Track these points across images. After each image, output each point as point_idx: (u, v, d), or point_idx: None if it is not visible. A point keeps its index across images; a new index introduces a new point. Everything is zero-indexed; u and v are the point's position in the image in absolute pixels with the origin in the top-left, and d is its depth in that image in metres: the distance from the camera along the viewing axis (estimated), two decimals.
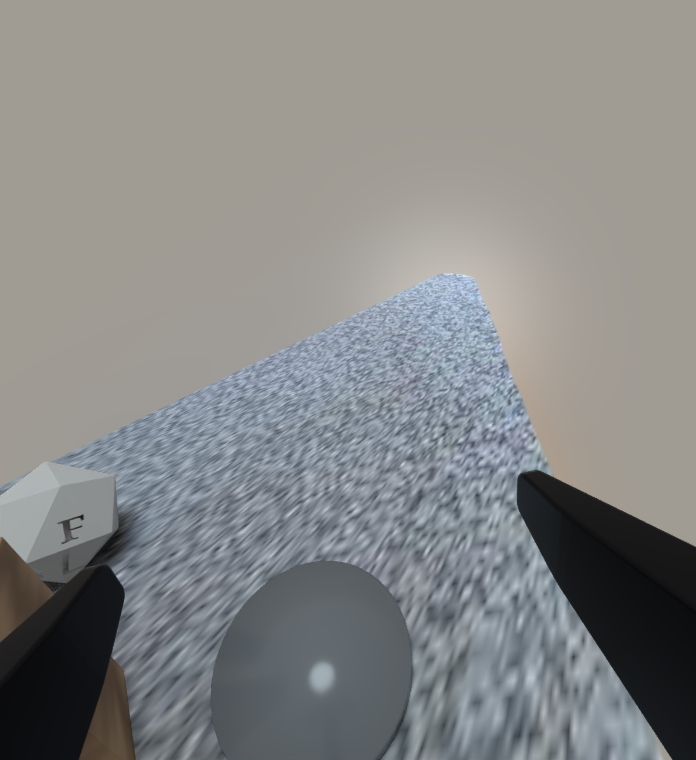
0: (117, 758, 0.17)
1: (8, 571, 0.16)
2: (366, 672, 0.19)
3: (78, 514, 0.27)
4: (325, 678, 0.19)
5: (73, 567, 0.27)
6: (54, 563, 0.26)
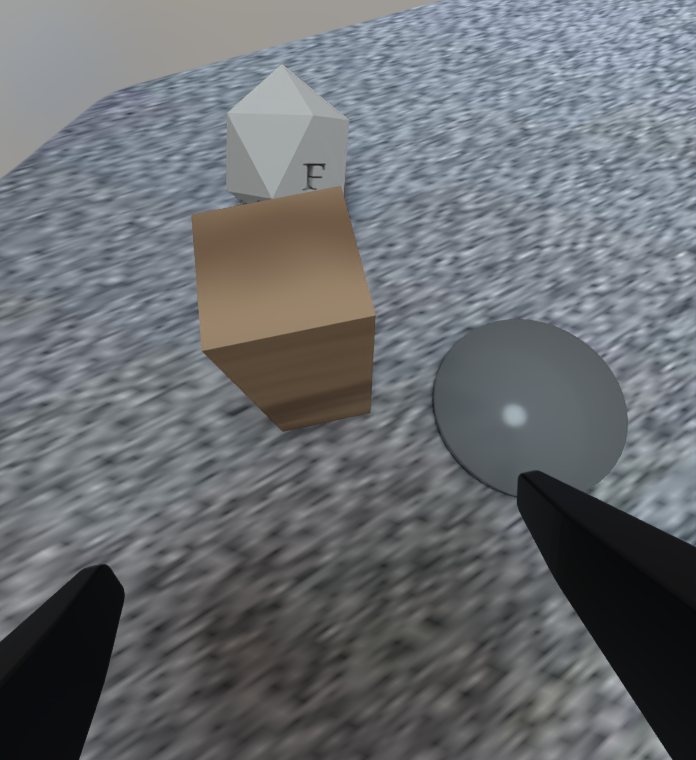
0: (369, 404, 0.21)
1: None
2: (577, 441, 0.21)
3: (321, 161, 0.23)
4: (538, 427, 0.21)
5: None
6: None
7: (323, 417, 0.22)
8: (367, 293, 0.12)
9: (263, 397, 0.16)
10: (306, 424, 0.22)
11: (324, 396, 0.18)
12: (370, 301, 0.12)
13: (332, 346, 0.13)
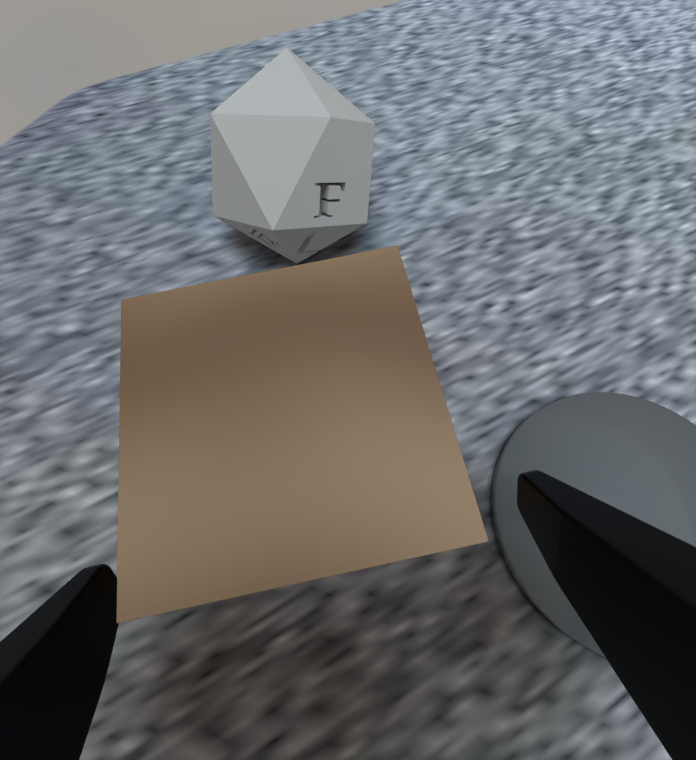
0: None
1: None
2: None
3: (340, 179, 0.17)
4: None
5: (309, 249, 0.20)
6: (297, 239, 0.18)
7: None
8: (467, 486, 0.06)
9: None
10: None
11: None
12: (475, 506, 0.06)
13: None
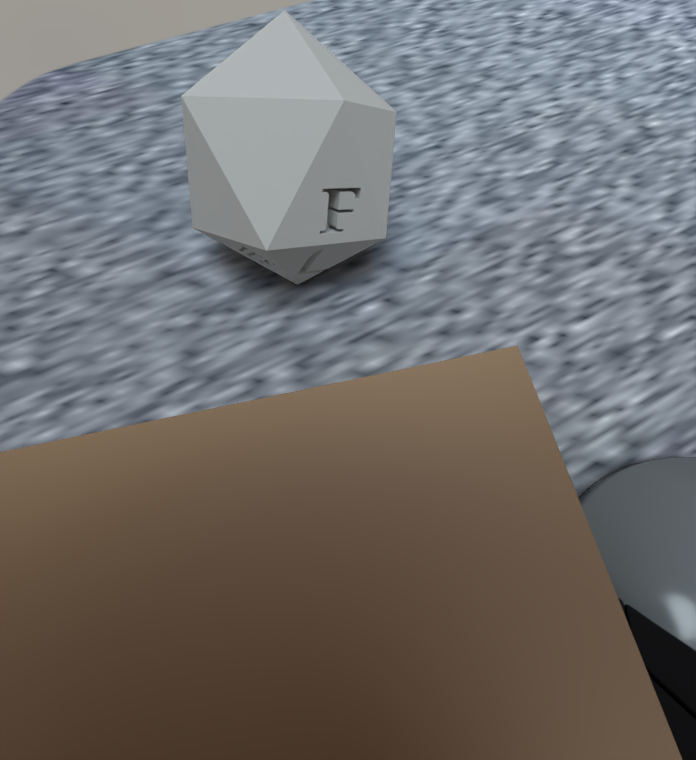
0: None
1: None
2: None
3: (354, 184, 0.13)
4: None
5: (312, 268, 0.16)
6: (298, 259, 0.15)
7: None
8: None
9: None
10: None
11: None
12: None
13: None
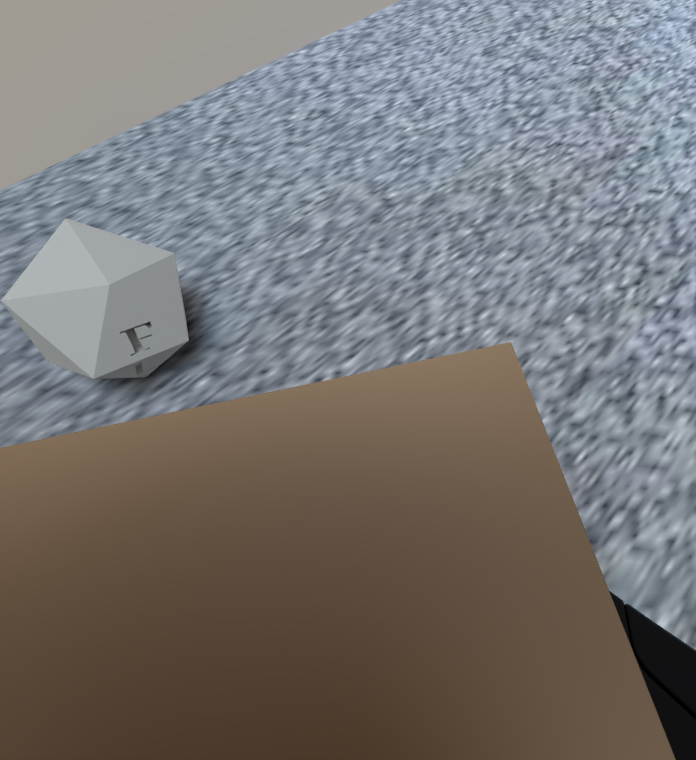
0: None
1: None
2: None
3: (143, 321, 0.19)
4: None
5: (147, 368, 0.22)
6: (127, 371, 0.21)
7: None
8: None
9: None
10: None
11: None
12: None
13: None
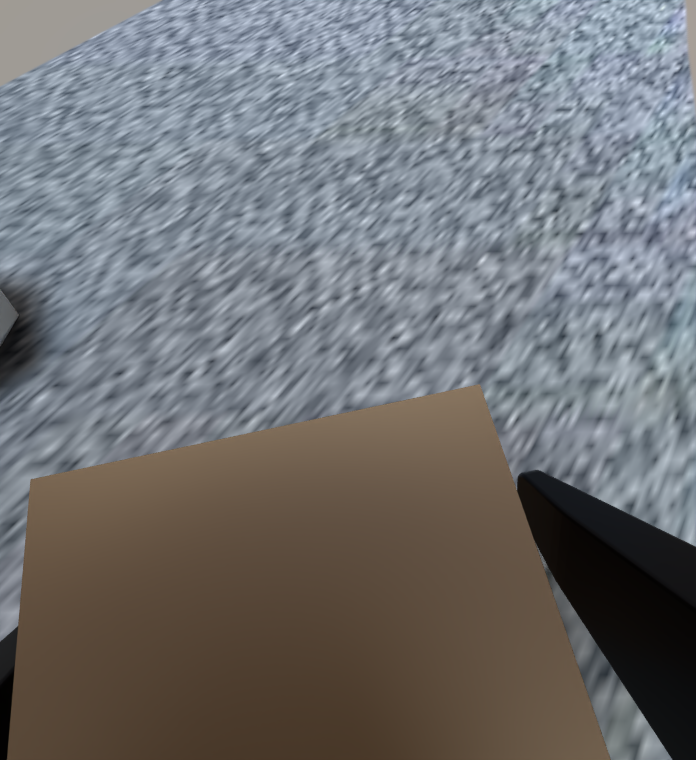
0: None
1: None
2: None
3: None
4: None
5: None
6: None
7: None
8: None
9: None
10: None
11: None
12: None
13: None
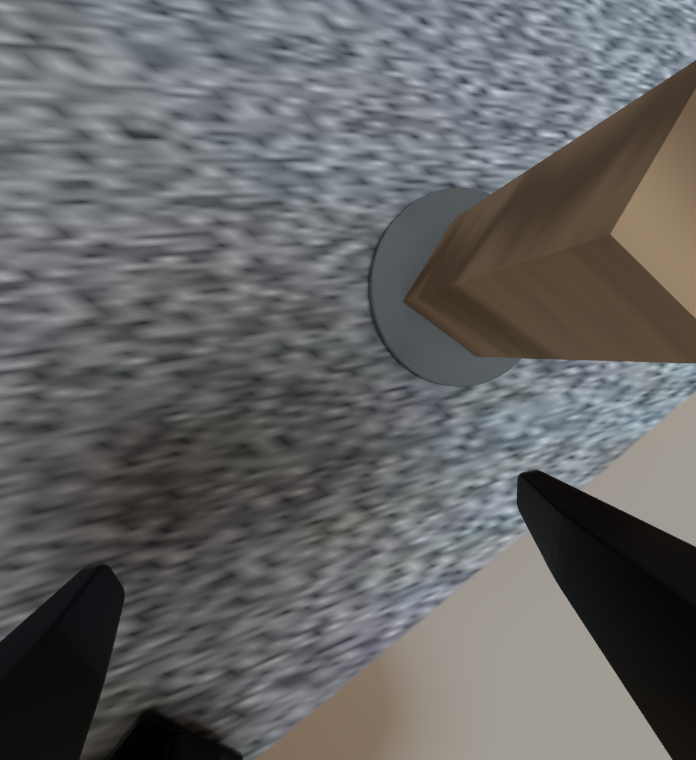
0: (496, 356, 0.19)
1: None
2: None
3: None
4: None
5: None
6: None
7: (451, 328, 0.19)
8: None
9: (484, 287, 0.14)
10: (428, 317, 0.20)
11: (506, 328, 0.16)
12: None
13: (645, 335, 0.11)
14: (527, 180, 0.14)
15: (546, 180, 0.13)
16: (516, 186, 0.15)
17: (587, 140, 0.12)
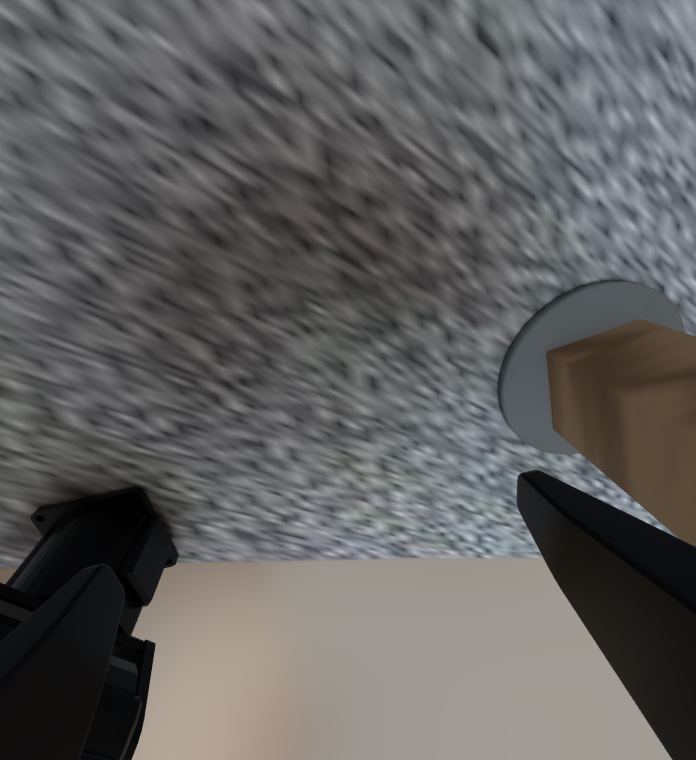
0: (573, 445, 0.21)
1: None
2: None
3: None
4: None
5: None
6: None
7: (563, 401, 0.21)
8: None
9: (645, 420, 0.15)
10: (553, 378, 0.21)
11: (615, 447, 0.17)
12: None
13: None
14: None
15: None
16: None
17: None
